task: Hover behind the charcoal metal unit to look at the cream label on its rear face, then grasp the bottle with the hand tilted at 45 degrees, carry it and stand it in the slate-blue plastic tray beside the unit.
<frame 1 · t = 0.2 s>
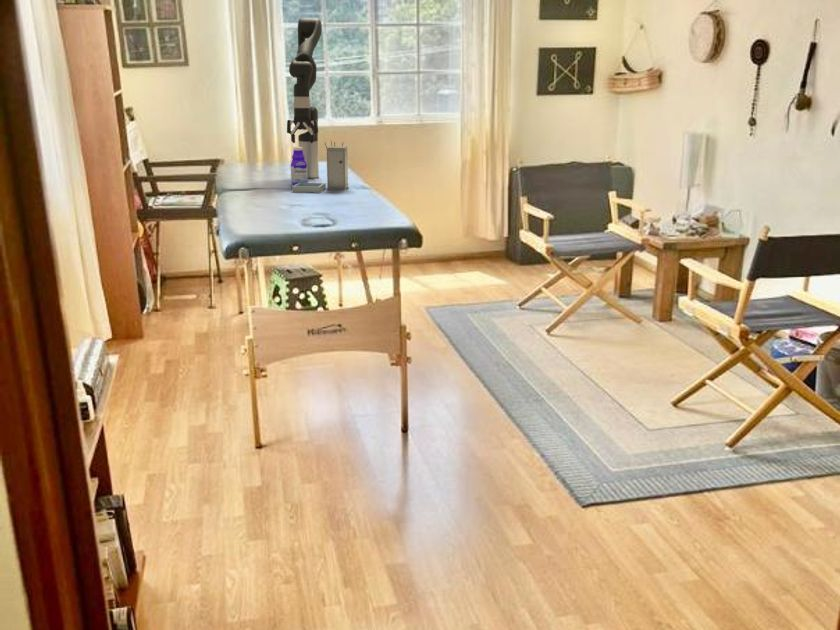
hand: (302, 143, 374), 17 cm above the table, tool pointing down, fingers open, 8 cm apart
reed diffuser: (336, 186, 365), on the table
wall unit: (337, 188, 357), on the table
tray: (309, 190, 351), on the table
bottle: (299, 186, 362), on the table
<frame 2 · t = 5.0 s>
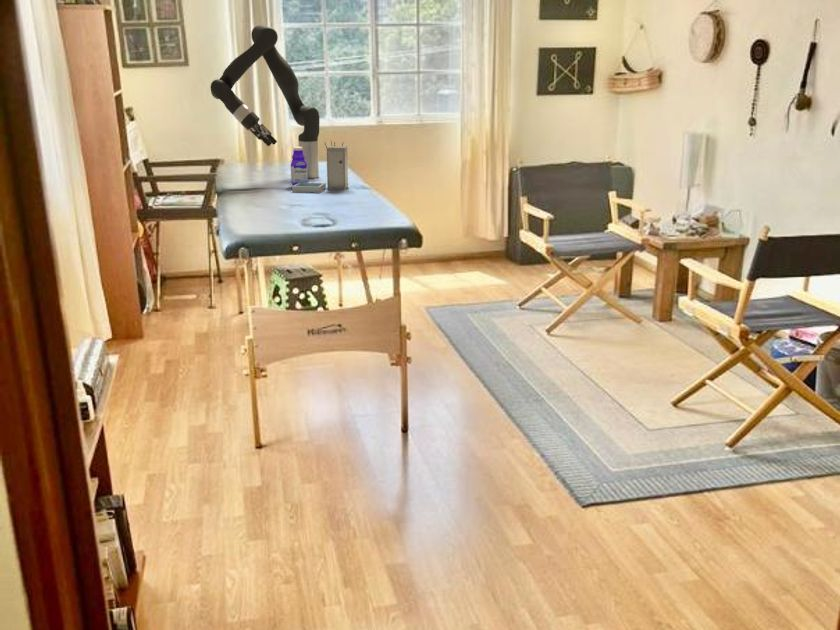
hand: (272, 144, 357), 19 cm above the table, tool tilted 45°, fingers open, 8 cm apart
nothing on the table moved.
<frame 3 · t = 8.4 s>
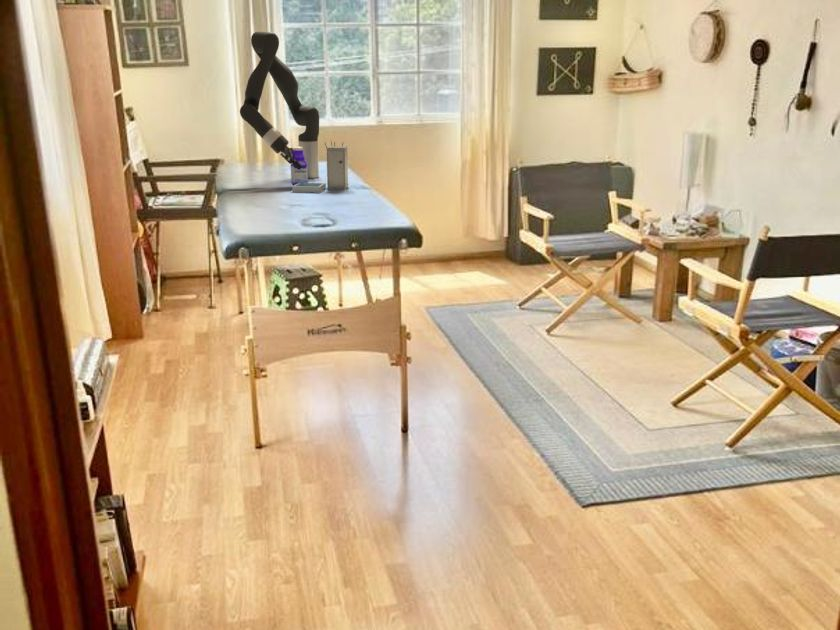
hand: (302, 167, 359), 8 cm above the table, tool tilted 45°, fingers closed on bottle, 6 cm apart
bottle: (299, 186, 362), on the table, touching gripper
everything else where it was.
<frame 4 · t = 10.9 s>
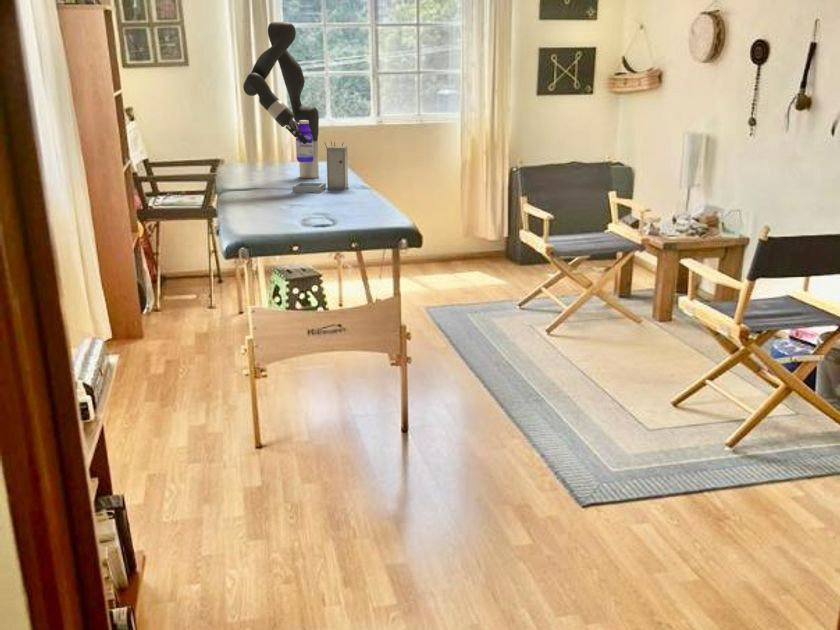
hand: (308, 142, 346), 21 cm above the table, tool tilted 45°, fingers closed on bottle, 6 cm apart
bottle: (305, 162, 348), point 12 cm above the table, touching gripper
everything else where it was.
when the fingers open (11 cm above the table, at t = 13.4 s): bottle drops 2 cm, resting on tray.
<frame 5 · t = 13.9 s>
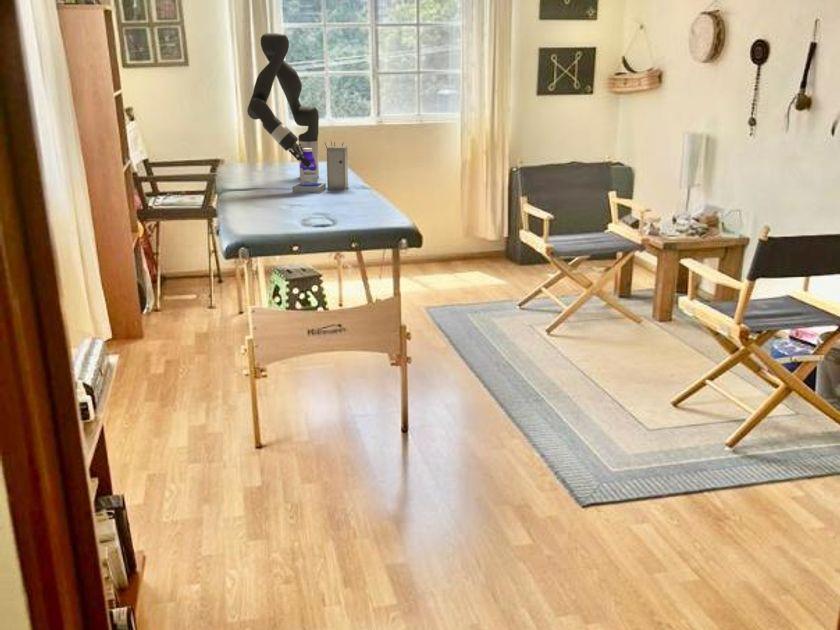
hand: (311, 164, 347), 11 cm above the table, tool tilted 45°, fingers open, 8 cm apart
bottle: (308, 189, 351), resting on tray
everything else where it was.
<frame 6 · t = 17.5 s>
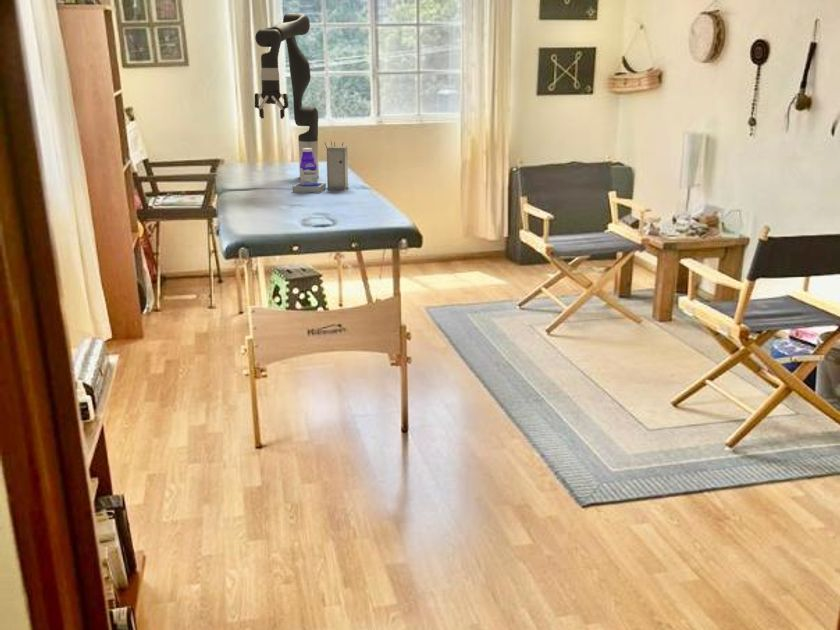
hand: (272, 118, 346), 30 cm above the table, tool pointing down, fingers open, 8 cm apart
nothing on the table moved.
at the end: bottle inside the target area on the tray (0.5 cm from its centre), point 0.4 cm above the tray's base; bottle tilted 0°; the gripper is holding nothing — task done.
